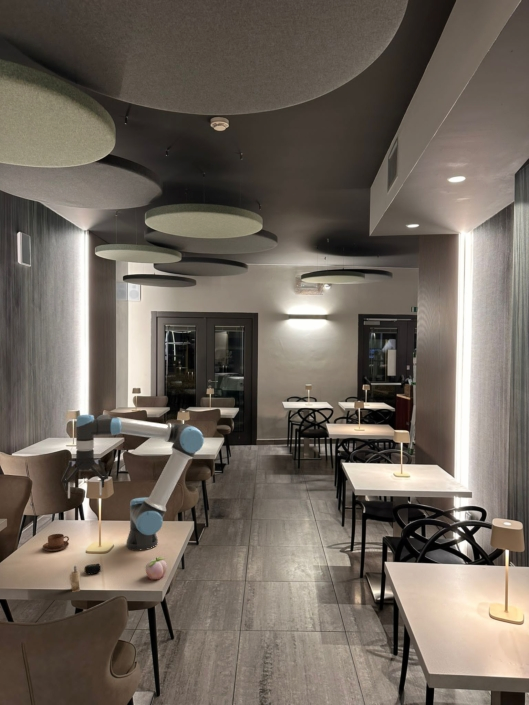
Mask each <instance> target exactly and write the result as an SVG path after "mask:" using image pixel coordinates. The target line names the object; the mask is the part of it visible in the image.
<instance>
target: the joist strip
mask: <svg viewBox="0 0 529 705" xmlns="http://www.w3.org/2000/svg"><path fill="white" fill-rule="evenodd" d="M69 576H70V577H71V574H70V575H69ZM71 591H72V593H76V592H80V591H81V587H80V585H79V589H77V590H72V589H71Z"/></svg>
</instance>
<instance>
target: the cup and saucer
mask: <svg viewBox="0 0 529 705" xmlns="http://www.w3.org/2000/svg"><path fill="white" fill-rule="evenodd" d="M66 538H67V540H65V539H66ZM69 540H70V538H69V536H68V535H66V536H65V535H64V534H63V533H54V534H53V533H52V534H49V535H48V536H47V542H46V543H44V544H43V545H42V549H43V550H45V551H46V552H57V551H59V552H60V551H62V550H64V549H66V548H68V546H69V544H70V543H69Z"/></svg>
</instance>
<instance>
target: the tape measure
mask: <svg viewBox="0 0 529 705" xmlns="http://www.w3.org/2000/svg"><path fill="white" fill-rule="evenodd" d="M101 568H102V566H101V565H100V563H92V564H91V563H90V564H87V565H85V566H84V570H83V571H84V572H83V573H84V574H86V575H92V574H94V575H95V574H97V573H99V572H101V571H102V570H101Z"/></svg>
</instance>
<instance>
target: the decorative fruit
mask: <svg viewBox="0 0 529 705" xmlns="http://www.w3.org/2000/svg"><path fill="white" fill-rule="evenodd" d="M167 569H168V566H167V562H166V561H165V558H164V557H155V558H153V559H151V560H150V561H148V563H147V564H146V566H145V572H146V573H145V574H146V575H147V577H148V578H149V579H150V580H152V579H157V580H160V579H161V578H163V577H164V576H165V575H166V572H167Z"/></svg>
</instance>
